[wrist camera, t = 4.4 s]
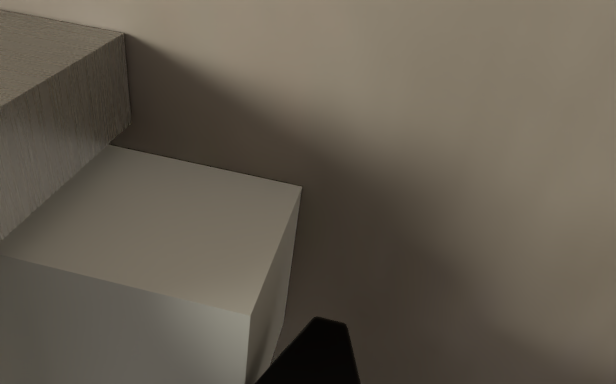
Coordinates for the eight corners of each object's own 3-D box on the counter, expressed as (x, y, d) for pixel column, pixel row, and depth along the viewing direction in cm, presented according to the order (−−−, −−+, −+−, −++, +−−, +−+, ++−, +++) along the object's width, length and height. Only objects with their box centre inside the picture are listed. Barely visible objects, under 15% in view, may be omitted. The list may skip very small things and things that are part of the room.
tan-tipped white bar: (302, 186, 10) (250, 315, 8) (283, 322, 13) (238, 461, 10) (-165, 85, 12) (-366, 165, 9) (-106, 227, 14) (-248, 328, 11)
